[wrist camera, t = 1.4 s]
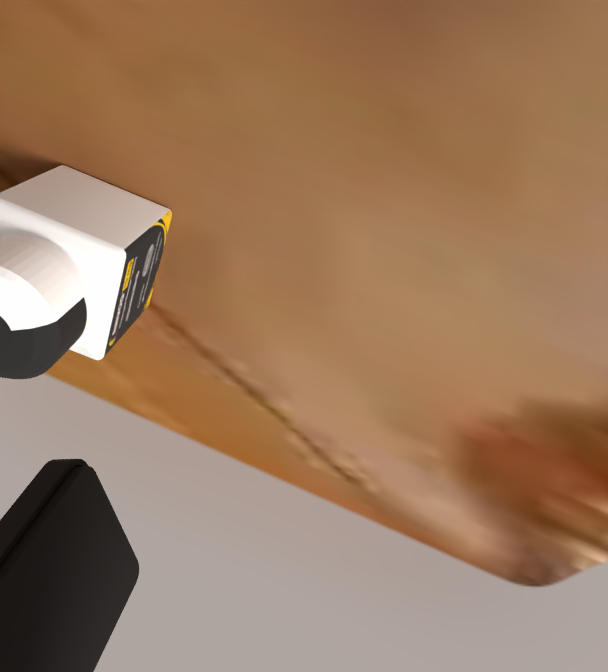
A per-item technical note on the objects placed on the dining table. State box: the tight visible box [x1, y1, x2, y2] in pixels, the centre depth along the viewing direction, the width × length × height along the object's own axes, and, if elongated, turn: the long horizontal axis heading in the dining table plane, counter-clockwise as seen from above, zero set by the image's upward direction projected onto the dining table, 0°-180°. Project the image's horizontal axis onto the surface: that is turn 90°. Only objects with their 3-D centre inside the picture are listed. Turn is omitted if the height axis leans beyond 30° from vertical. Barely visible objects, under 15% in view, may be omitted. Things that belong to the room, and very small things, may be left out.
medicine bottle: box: [0, 165, 172, 379], centre depth 30 cm, size 7×7×12 cm
